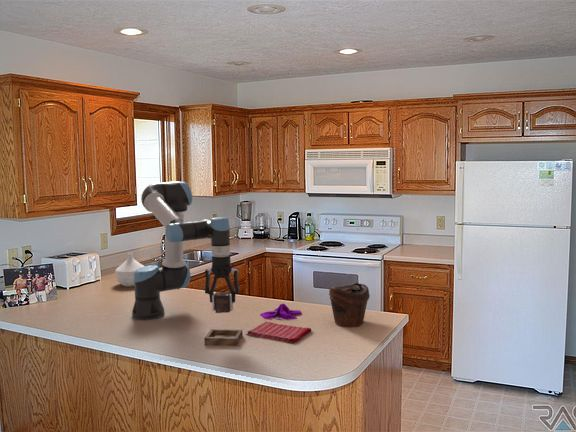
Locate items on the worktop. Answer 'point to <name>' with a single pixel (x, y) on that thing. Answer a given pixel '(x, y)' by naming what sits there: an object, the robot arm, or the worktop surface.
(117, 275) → the vase
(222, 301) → the box
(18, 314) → the worktop surface
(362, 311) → the dark brown lidded bucket
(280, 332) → the dish towel
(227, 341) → the brown wooden shallow tray
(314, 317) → the worktop surface
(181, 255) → the robot arm
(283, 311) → the cloth
